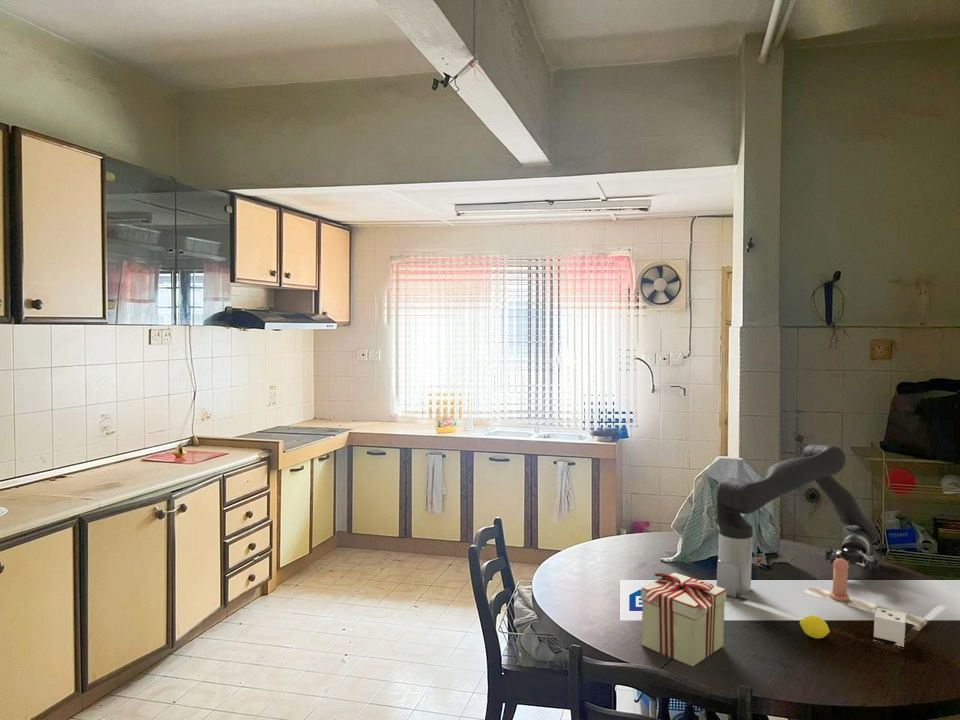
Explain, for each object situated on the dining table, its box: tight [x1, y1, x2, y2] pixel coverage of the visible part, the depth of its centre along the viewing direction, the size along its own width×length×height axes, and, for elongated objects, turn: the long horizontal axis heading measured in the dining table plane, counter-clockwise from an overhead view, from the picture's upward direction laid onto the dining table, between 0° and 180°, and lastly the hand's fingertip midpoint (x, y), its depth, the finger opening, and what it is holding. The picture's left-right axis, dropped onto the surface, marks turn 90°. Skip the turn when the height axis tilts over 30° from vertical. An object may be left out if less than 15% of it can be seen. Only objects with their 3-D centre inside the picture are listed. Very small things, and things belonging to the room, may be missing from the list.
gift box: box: [640, 572, 727, 667], centre depth 174 cm, size 17×18×17 cm
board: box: [803, 586, 928, 632], centre depth 199 cm, size 7×30×1 cm, turn 43°
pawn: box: [829, 558, 850, 602], centre depth 203 cm, size 5×5×12 cm
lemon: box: [799, 615, 831, 639], centre depth 182 cm, size 7×5×5 cm
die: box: [872, 608, 907, 647], centre depth 181 cm, size 6×6×7 cm
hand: (849, 565), depth 210 cm, fingers open, 8 cm apart
